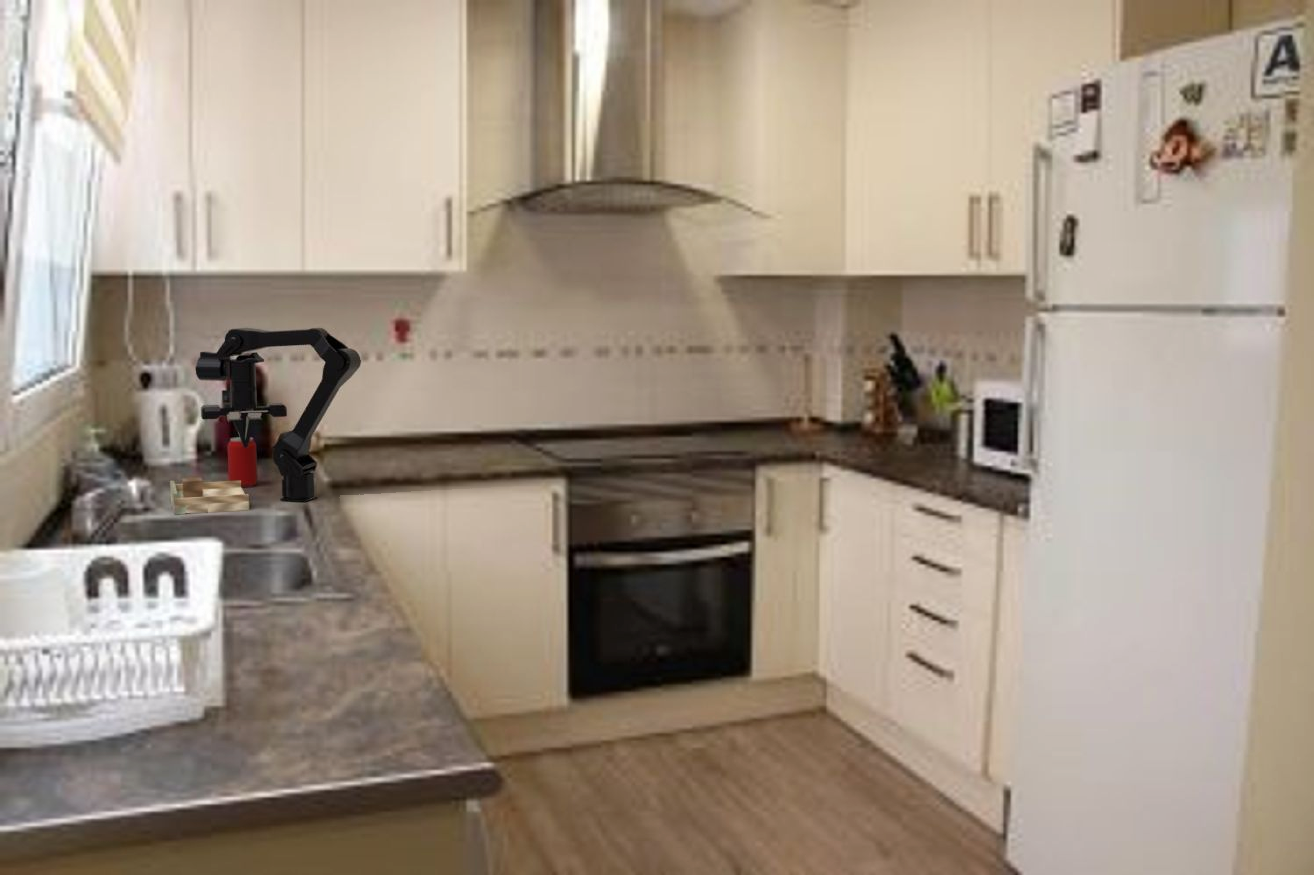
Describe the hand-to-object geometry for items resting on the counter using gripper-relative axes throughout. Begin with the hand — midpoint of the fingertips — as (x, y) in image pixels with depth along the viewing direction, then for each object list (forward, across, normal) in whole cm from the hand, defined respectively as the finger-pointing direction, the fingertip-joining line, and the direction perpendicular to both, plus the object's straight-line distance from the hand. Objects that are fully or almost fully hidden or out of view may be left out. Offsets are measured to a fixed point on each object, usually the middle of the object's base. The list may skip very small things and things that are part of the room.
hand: (245, 447), depth 266 cm
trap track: (+12, +9, +6) cm, 16 cm away
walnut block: (+10, +12, +6) cm, 17 cm away
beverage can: (+12, -1, -16) cm, 20 cm away
